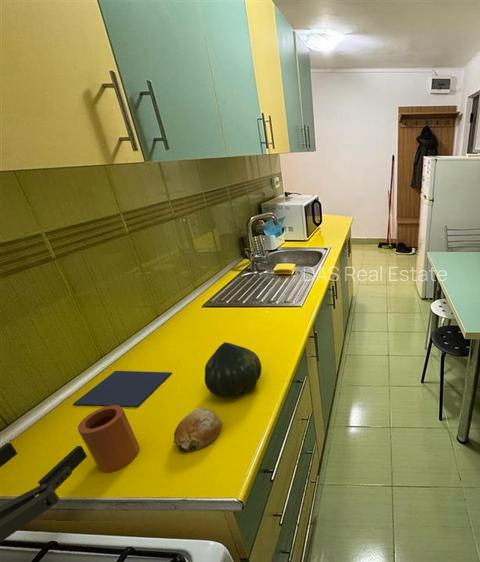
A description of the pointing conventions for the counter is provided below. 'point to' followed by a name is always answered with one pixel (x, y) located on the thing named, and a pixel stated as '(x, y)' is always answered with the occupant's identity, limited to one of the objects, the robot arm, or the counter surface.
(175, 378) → the counter surface
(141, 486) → the counter surface
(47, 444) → the counter surface
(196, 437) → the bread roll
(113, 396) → the cloth
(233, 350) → the squash
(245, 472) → the counter surface
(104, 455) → the jar
